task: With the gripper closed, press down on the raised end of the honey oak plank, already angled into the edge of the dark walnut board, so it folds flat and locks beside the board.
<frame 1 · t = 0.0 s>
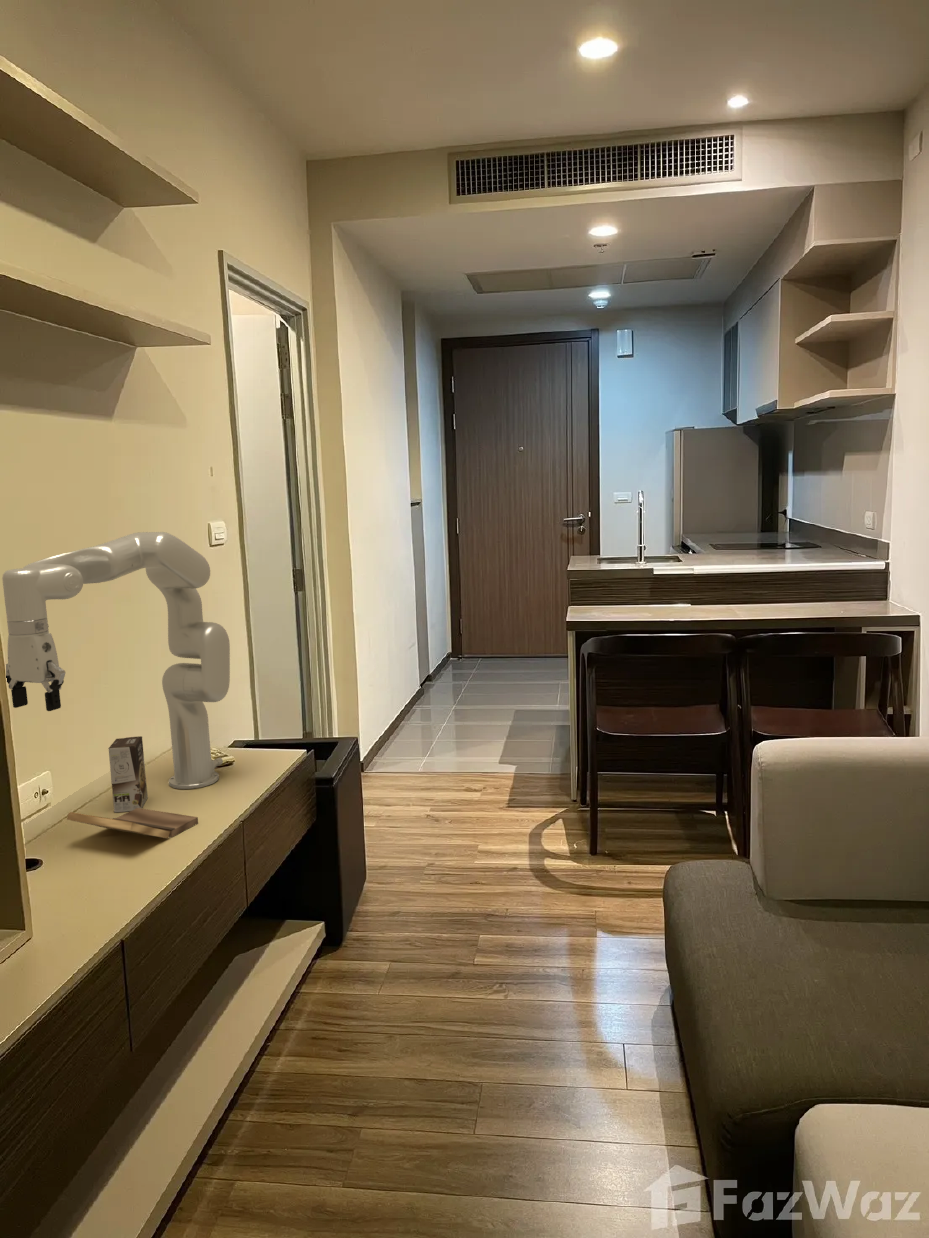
hand: (37, 707, 184), 31 cm above the tv stand, tool pointing down, fingers open, 9 cm apart
walnut board: (125, 839, 192), on the tv stand
oak plank: (118, 825, 190), point 4 cm above the tv stand, hinge at 30.0°
coffee box: (131, 806, 214), on the tv stand
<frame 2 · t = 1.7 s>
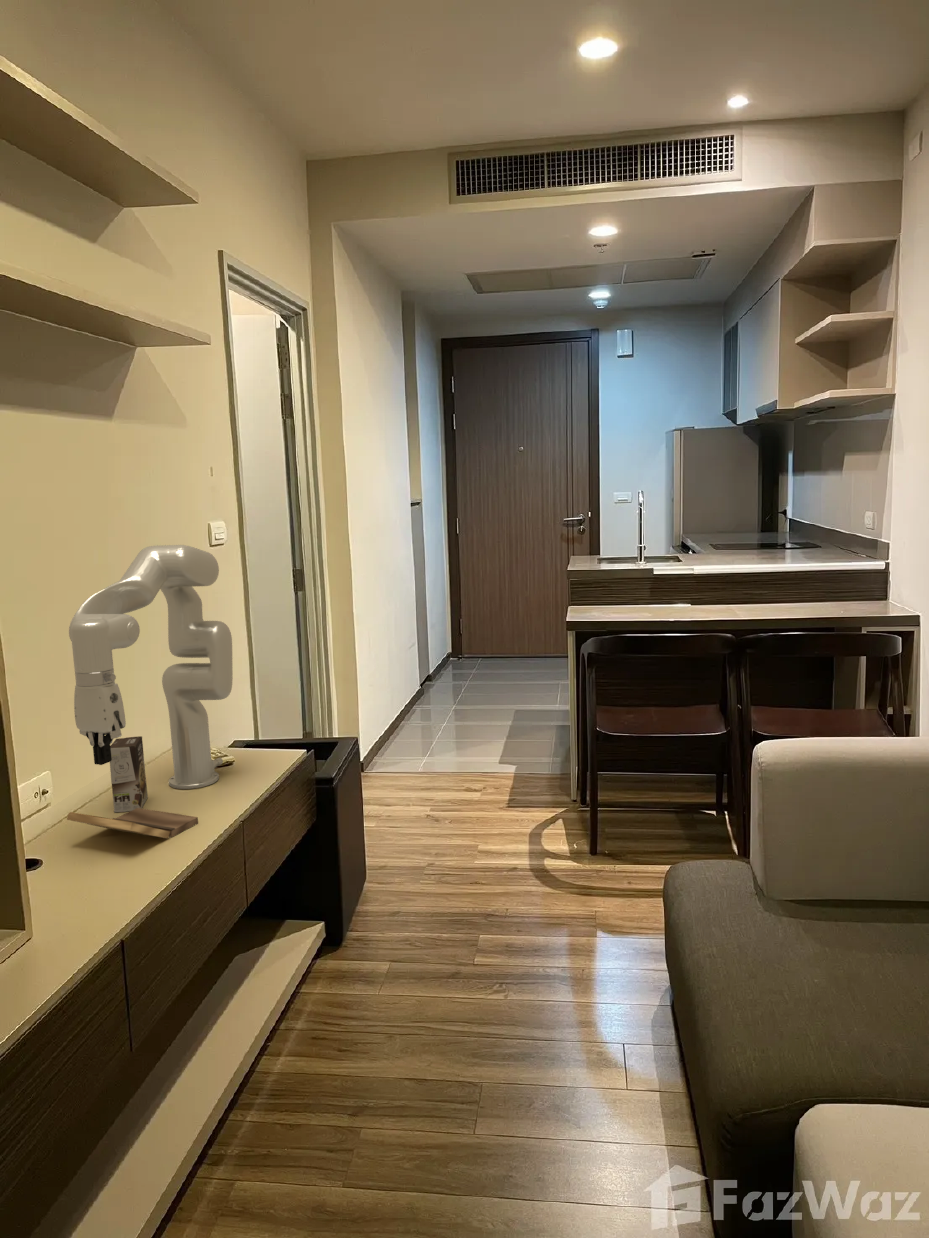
hand: (103, 762, 186), 19 cm above the tv stand, tool pointing down, fingers closed
nothing on the tv stand moved.
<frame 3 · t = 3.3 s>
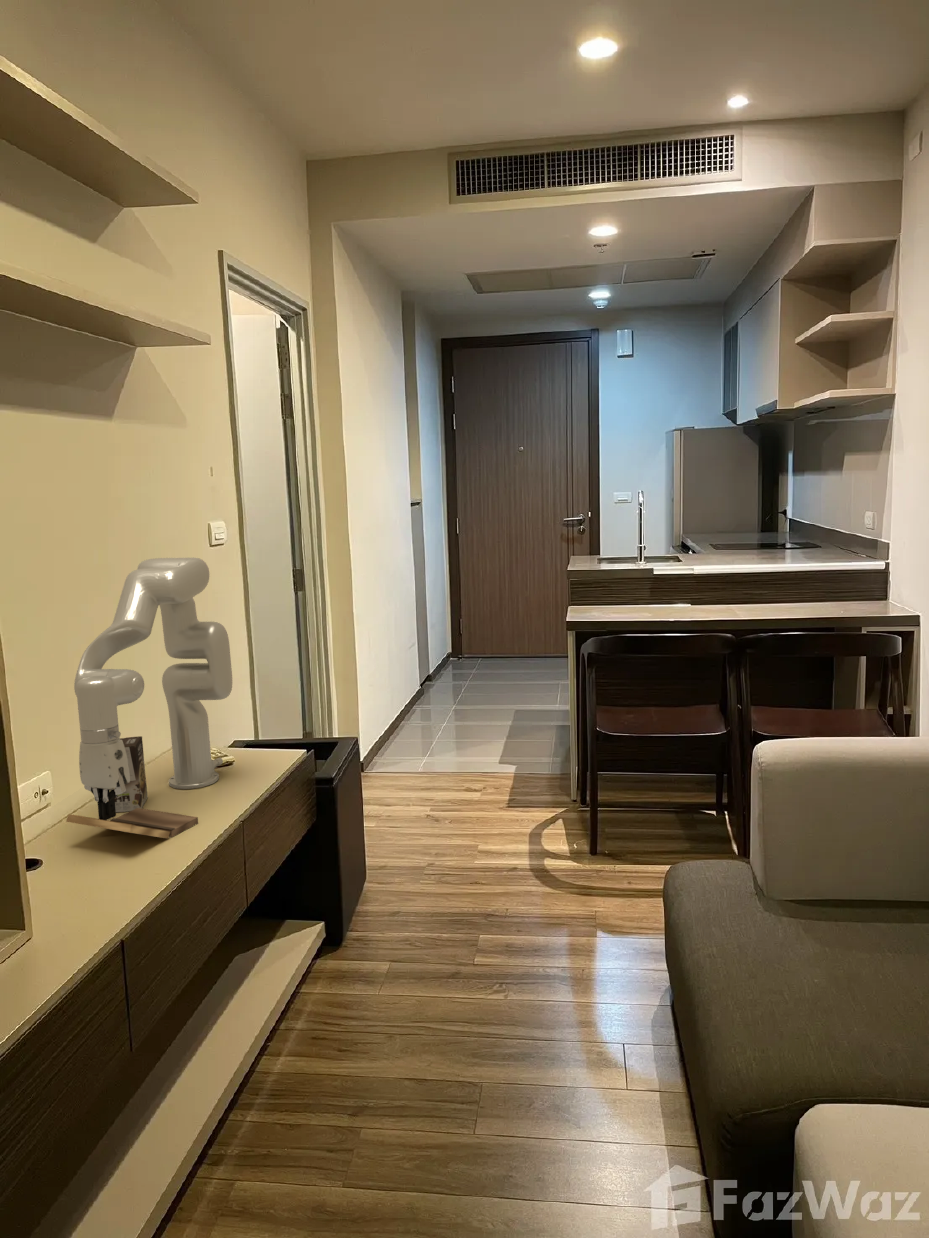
hand: (107, 817, 187), 7 cm above the tv stand, tool pointing down, fingers closed
oak plank: (118, 826, 190), point 4 cm above the tv stand, hinge at 27.6°, touching gripper
everything else where it was.
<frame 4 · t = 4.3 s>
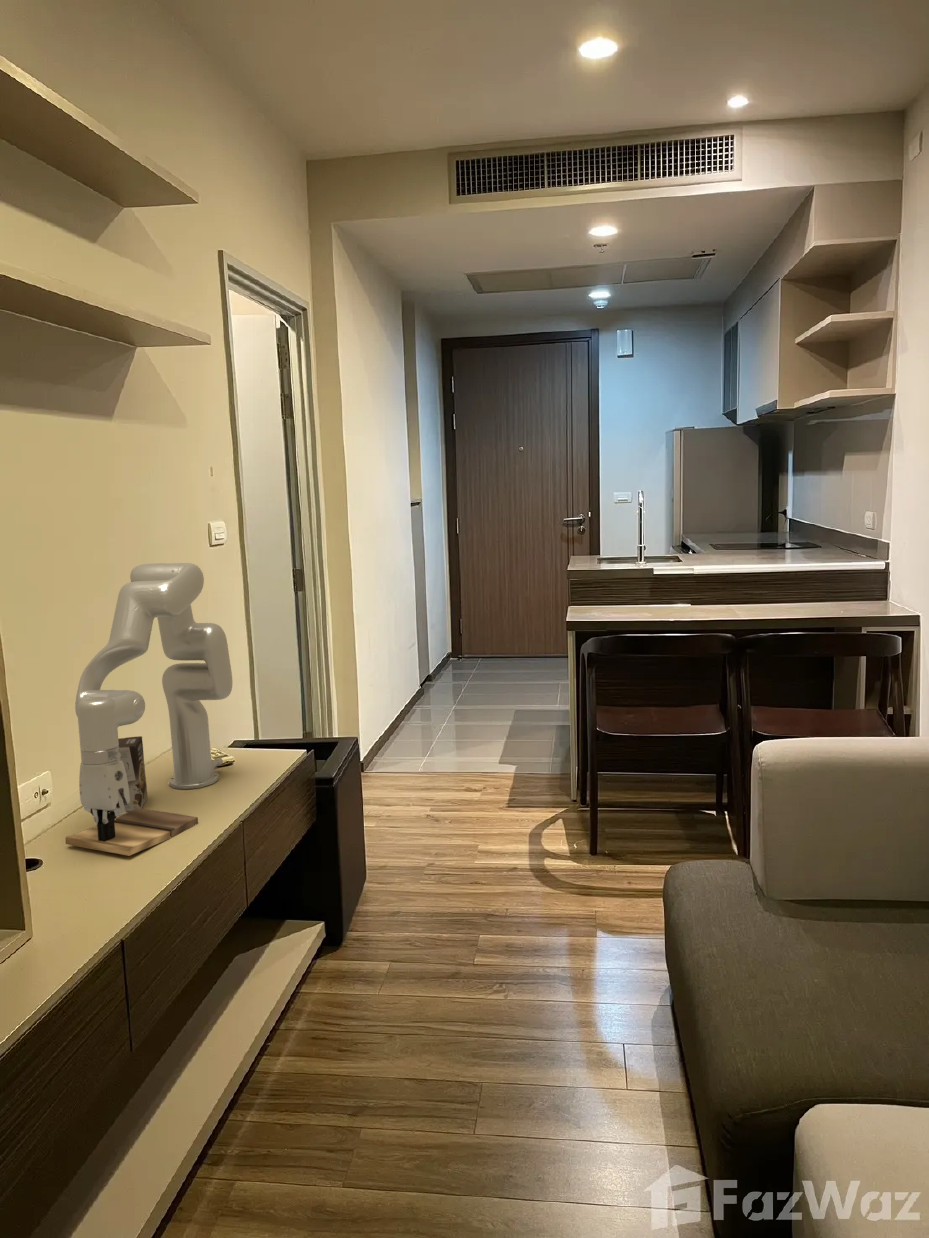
hand: (107, 839, 187), 2 cm above the tv stand, tool pointing down, fingers closed
oak plank: (118, 837, 190), point 1 cm above the tv stand, hinge at 4.6°, touching gripper
everything else where it was.
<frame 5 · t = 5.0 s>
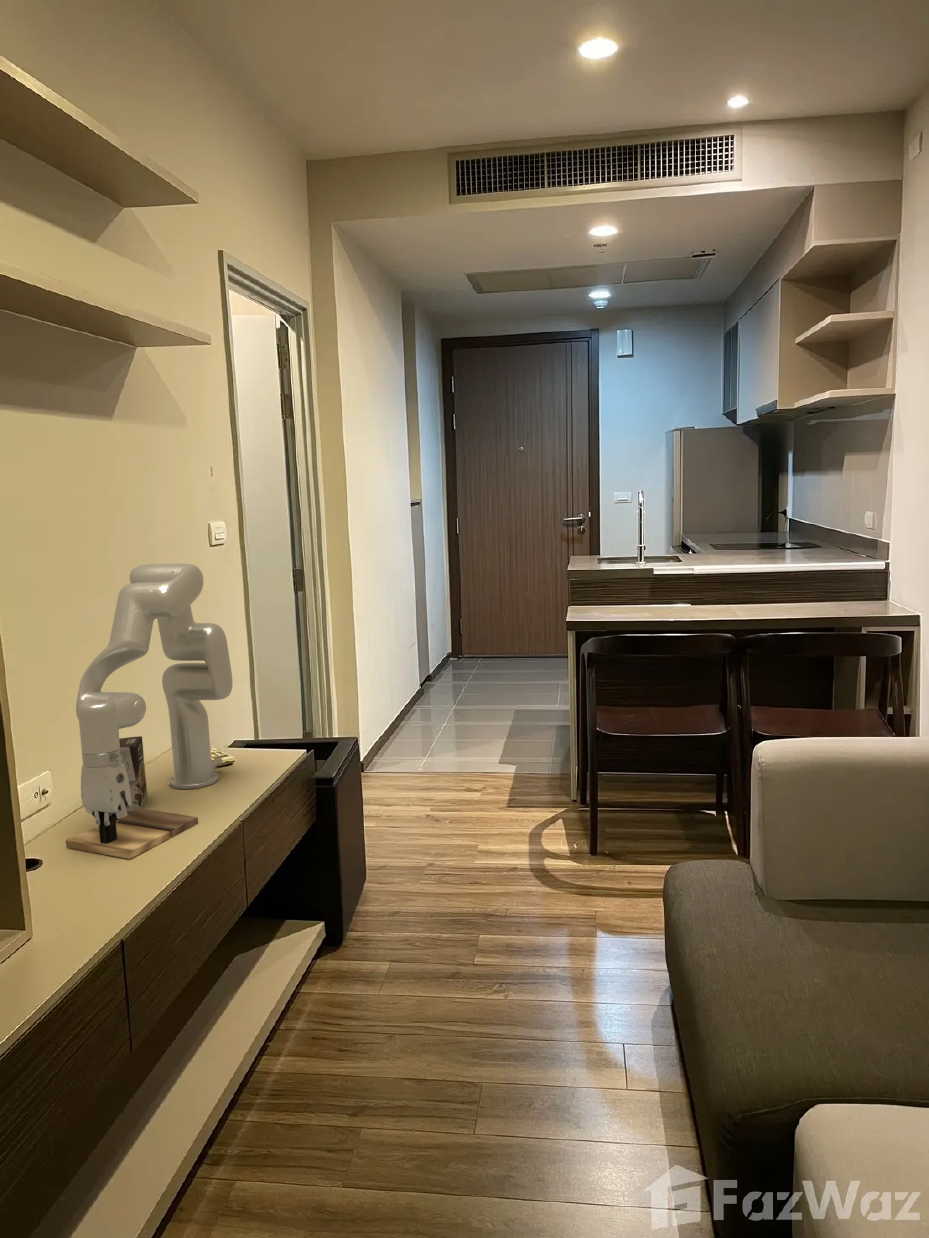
hand: (108, 841, 188), 2 cm above the tv stand, tool pointing down, fingers closed
oak plank: (118, 839, 190), point 1 cm above the tv stand, hinge at 1.1°, touching gripper
everything else where it was.
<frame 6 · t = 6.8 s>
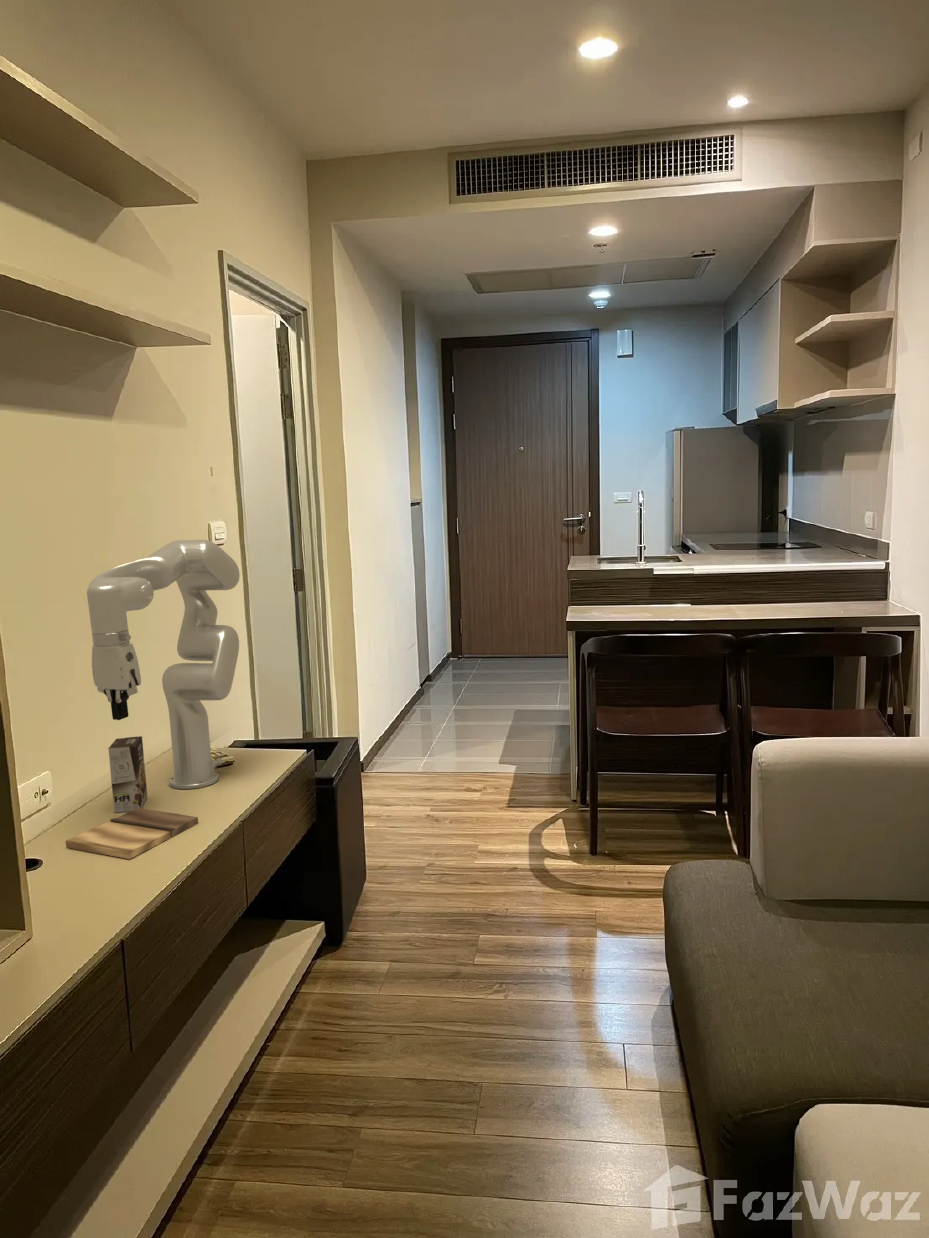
hand: (120, 718, 197), 25 cm above the tv stand, tool pointing down, fingers closed
oak plank: (118, 839, 190), point 1 cm above the tv stand, hinge at 1.0°
everything else where it was.
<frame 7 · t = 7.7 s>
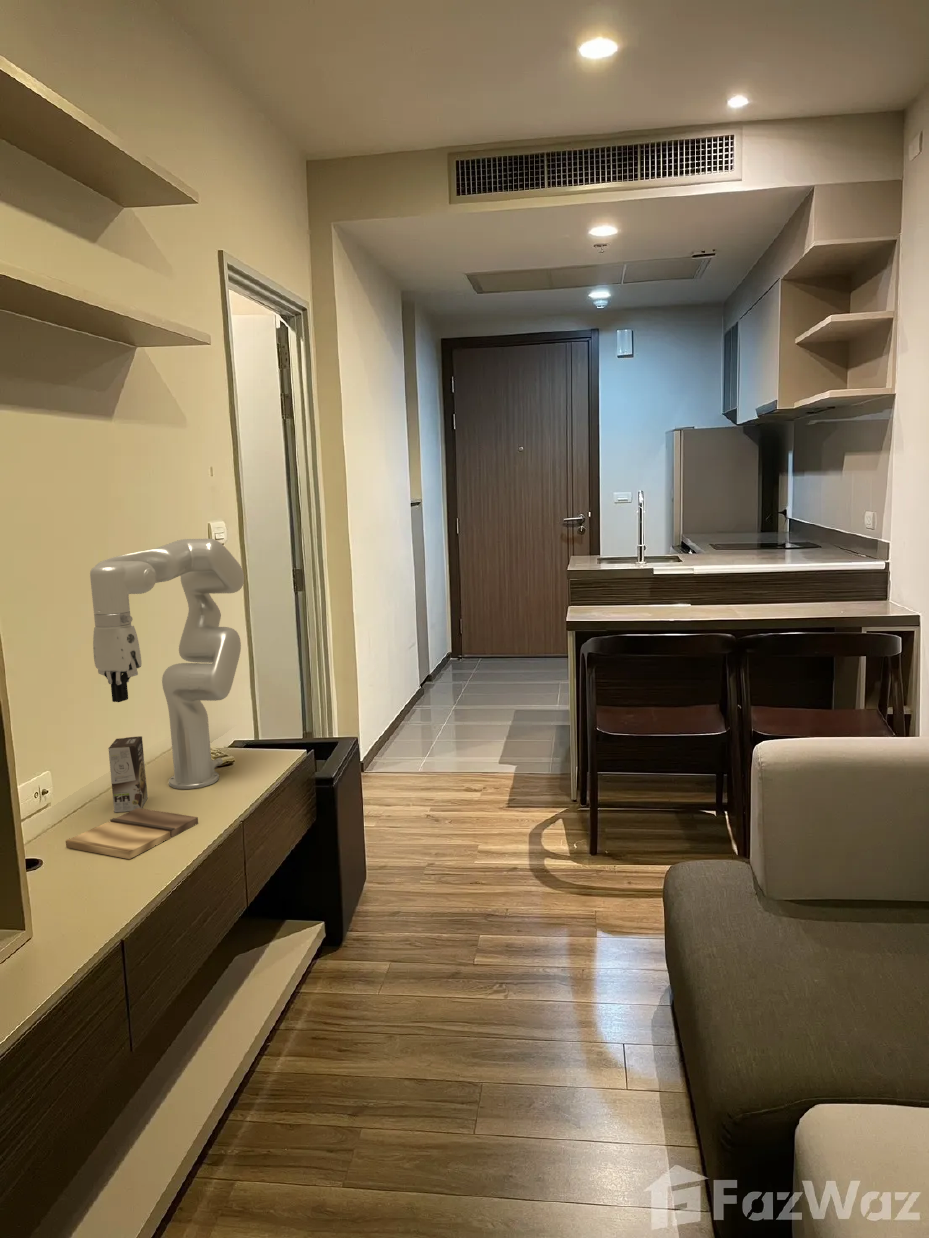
hand: (120, 700, 198), 29 cm above the tv stand, tool pointing down, fingers closed
nothing on the tv stand moved.
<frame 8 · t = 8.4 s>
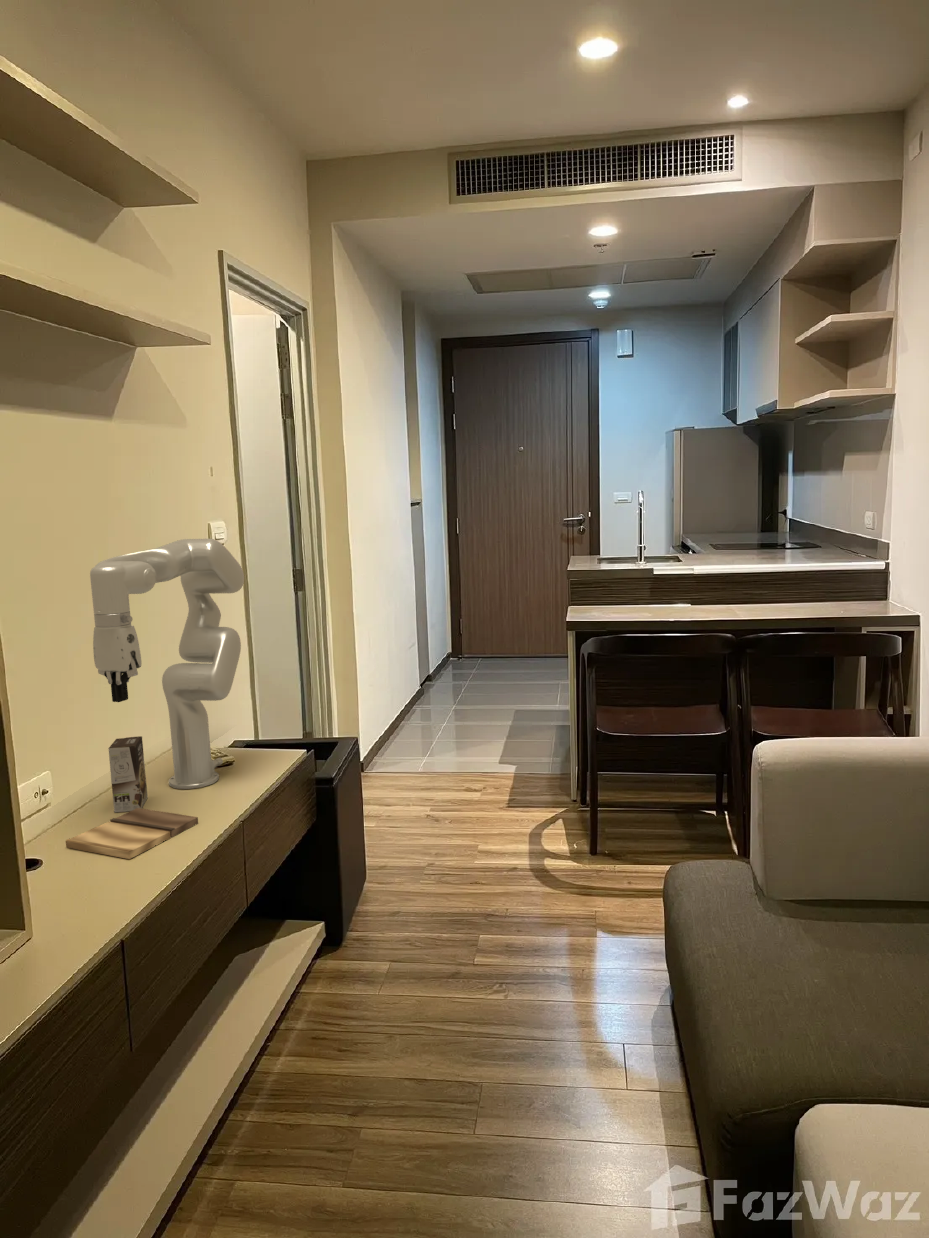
hand: (120, 700, 198), 29 cm above the tv stand, tool pointing down, fingers closed
nothing on the tv stand moved.
at the end: oak plank at +1° (first picture: +30°); coffee box moved 0.2 cm from its start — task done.
